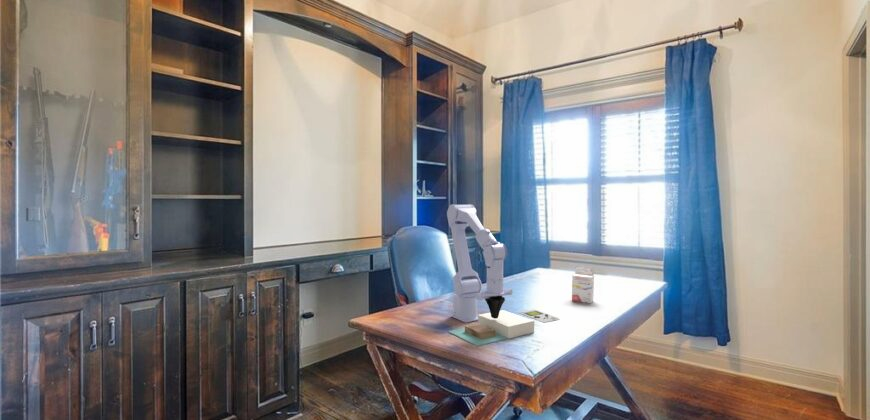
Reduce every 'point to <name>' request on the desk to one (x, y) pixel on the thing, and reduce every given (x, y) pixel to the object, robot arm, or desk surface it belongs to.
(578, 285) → the ink cartridge box
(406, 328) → the desk surface
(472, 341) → the mat
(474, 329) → the block
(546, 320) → the handheld gaming device
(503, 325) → the cream white board
